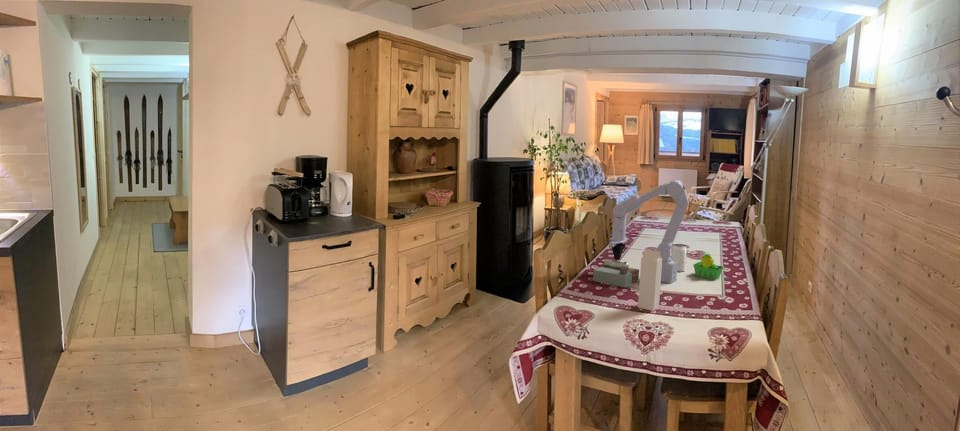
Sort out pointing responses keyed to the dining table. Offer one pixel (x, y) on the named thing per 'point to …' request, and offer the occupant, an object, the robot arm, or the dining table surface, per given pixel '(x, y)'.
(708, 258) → the fruit basket
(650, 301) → the milk
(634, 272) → the jamb
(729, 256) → the dining table surface
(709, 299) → the dining table surface
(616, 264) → the lock bar
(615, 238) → the robot arm
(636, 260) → the dining table surface
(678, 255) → the can
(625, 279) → the grey-green rectangular block
